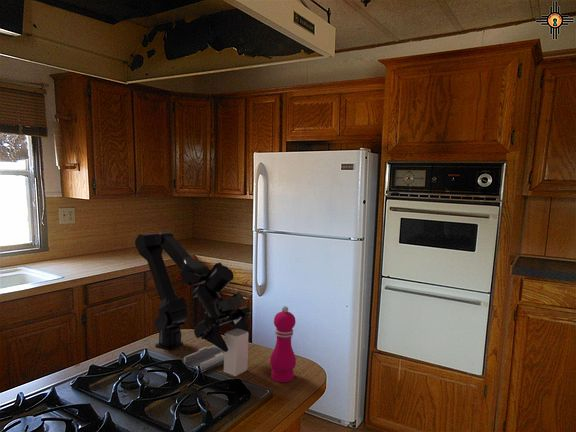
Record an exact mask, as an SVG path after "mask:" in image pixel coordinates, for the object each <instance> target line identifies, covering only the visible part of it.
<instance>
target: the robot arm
mask: <svg viewBox="0 0 576 432" xmlns="http://www.w3.org/2000/svg"><path fill="white" fill-rule="evenodd" d="M134 245H135V248H136V249H137V252H138V254H139V255H140V256H141V257H142V258H143V259H144V260H146V262H147V265H148V268H149V270H150V274H151V276H152V279H153V282H154V285H155V288H156V291H157V294H158V297H159V300H160V302H159V306H158V313H159V315H158V316H157V317H156V318H155V320H154V321H153V324H154V325H153V326H154V329H155V330H158V343H156V344H155V345H154V346H155V347H157V348H161V349H165V350H168V351H171V350H174V349H176V348H178V347H180V346H182V345H184V342H183V341H182V331H181V330H182V329H181V326H185V324H186V321H187V320H188V319H187V317H188V316H189V310H188V309H189V306H188V305H187V304H186V299H185V298H184V297H183V296H181V297H180V296H178V295H177V294H176V292H175V288H174V286H173V283H172V280H171V277H170V275H169V272H168V269H167V266H166V264H165V261H164V258H163V252H165V253H166V254H167V255H168V257H169V258H170V259H171V260H172V261H173V262H174V263H175V265H176V266H177V267H178V268H179V275H180V277H181V278H182V280H183V282H184V283H185V285H187V286H196V285H198V286H197V287H194V288H193V289H192V293H191V298H193V299H194V298H198V299H199V302H200V303H201V305H202V306H203V308H204V309H202V312H203V314H204V315H205V314H207V315H208V317H206V318H203V319H201V321H199V322H198V324H197V325H196V326H194V328H193V333H194V335H195V337H196V339H201V340H204V341H207V342H208V343H210V344H212V345H215V346H217V347H218V348H220V349H221V350H223V351H224V352H227V351H228V347H227V345H226V343H225V338H223V336H222V335H221V332H220V326H223V325H224V324H227V323H231V324H232V325H233V326H232V328H233V330H234V329H236V328H237V329H241V330H244V331H247V332H249V328H248V318H250V314H251V313H252V311H251V310H250V308H249V306H245V305H243V303H244V302H245V298H244V297H243V295H242V294H241V292H237V293H236V292H235V293H234V294H232V296H231V297H230V298H227V297H225V296H222V297H221V295H220V293H219V292H222V291H223V290H224V289H225V288H226V287H227V286H228V285H229V284H230V283H231V282H232V281H233V279H234V272H233V271H232V269H230V268H229V267H227V266H225V265H223V264H222V262H216V263H215V264H214V265H213V266H212V268H209V267H208V266H207V265H206V264H205V263H203V262H202V261H200V260H198V259H196V258H193V257H192V256H191V255H190V254H189V253H188V251H186V249H185V248H184V247H183V245H182V244H180V242H178V240H177V239H176V238H175V236H174V234H173V232H169V231H166V232H158V233H157V232H155V233H154V232H152V233H139V234H138V235H137V237H136V238H135V241H134ZM235 309H236V310H235ZM250 342H251V337H250V334H249V335H248V343H250Z"/></svg>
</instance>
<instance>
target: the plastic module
mask: <svg viewBox="0 0 576 432" xmlns="http://www.w3.org/2000/svg"><path fill="white" fill-rule="evenodd" d="M248 335H249V336H250V332H249V331H248V332H247V331H244V330H241V329H237V328H236V329H234V328H233V329H232V330H228V331H226V332H225V333H224V341H225V343H226V345H227V347H228V351H227V352H224V363H223V372H224V373H227V374H229V375H230V376H234V377H237V376H239V375H240V374H243V373H244V372H246V371H248V363H249V361H248V360H249V359H248V356H249V355H248V354H249V342H248Z"/></svg>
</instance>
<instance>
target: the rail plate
mask: <svg viewBox="0 0 576 432" xmlns="http://www.w3.org/2000/svg"><path fill="white" fill-rule="evenodd" d="M183 363H184V364H185V365H188V366H192V367H194V366H197V365H198V366H200V368H201V370H202V371H204V370H208V371H210V370H212V369H214V368H216V367H219V366H221V365H224V351H223V350H221V349H220V348H218V347H217V346H215V345H214V344H212V345H210V346H204V347H201V348H199V349H198V350H197V351H195V352H193V353H190V354H188V355H186V356H183ZM183 363H182V364H183Z"/></svg>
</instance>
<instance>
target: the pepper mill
mask: <svg viewBox="0 0 576 432" xmlns="http://www.w3.org/2000/svg"><path fill="white" fill-rule="evenodd" d="M273 325H274V327H275V330H274V332H275V333H274V334H275V336H276V341H275V343H276V344H275V346H274V349H273V351H272V353H271V356H270V358H269V364H270V367H271V368H272V369H271V372H270V373H271V374H270V378H271V380H272V381H275V382H278V383H288V382H291V381H293V380H294V376H295V375H294V374H295V371H294V369H295V368H296V365H297V359H296V355H295V352H294V350H293V347H292V337H293V335H294V329H293V328H295V325H296V317H295V315H294V314H293V313H291V312H289V307H288V306H286V305H284V306H282V308H281V311H279V312H277V313H276V314H275V315H274V318H273Z"/></svg>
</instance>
